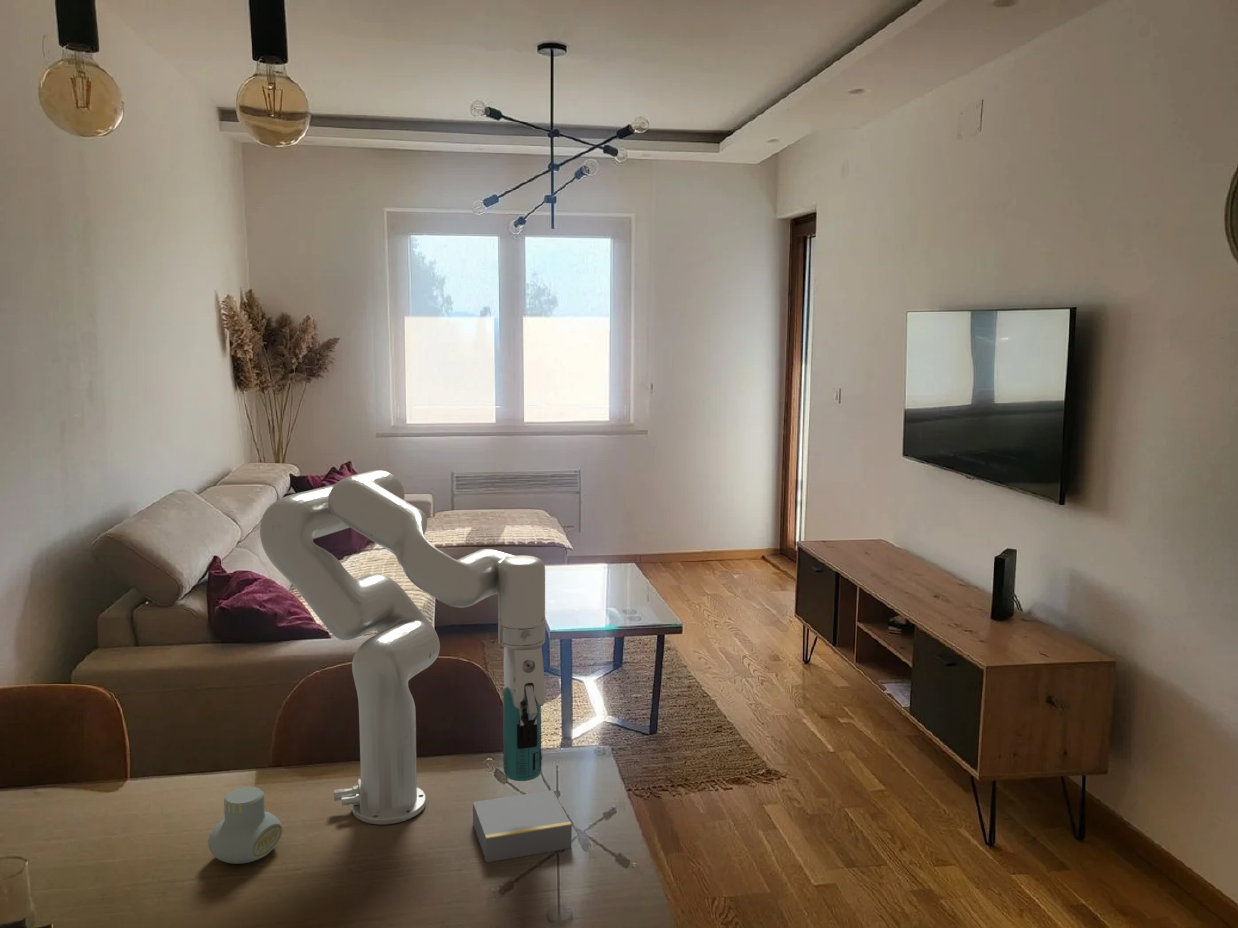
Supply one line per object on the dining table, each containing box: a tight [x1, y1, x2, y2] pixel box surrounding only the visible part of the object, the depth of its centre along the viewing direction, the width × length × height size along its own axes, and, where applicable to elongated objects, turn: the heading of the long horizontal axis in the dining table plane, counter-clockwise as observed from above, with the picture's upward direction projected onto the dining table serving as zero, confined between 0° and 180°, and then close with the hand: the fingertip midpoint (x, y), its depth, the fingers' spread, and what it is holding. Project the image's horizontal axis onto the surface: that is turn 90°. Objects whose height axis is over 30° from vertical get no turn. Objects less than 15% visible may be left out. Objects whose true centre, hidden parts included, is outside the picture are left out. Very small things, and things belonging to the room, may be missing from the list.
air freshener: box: [207, 786, 283, 865], centre depth 146 cm, size 11×8×10 cm
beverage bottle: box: [502, 664, 543, 782], centre depth 150 cm, size 6×7×20 cm
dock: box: [472, 789, 573, 863], centre depth 153 cm, size 14×12×4 cm
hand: (522, 736), depth 150 cm, fingers closed on beverage bottle, 6 cm apart
